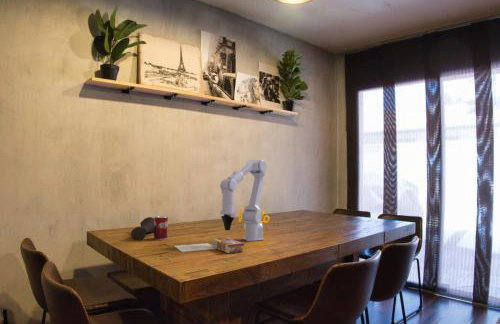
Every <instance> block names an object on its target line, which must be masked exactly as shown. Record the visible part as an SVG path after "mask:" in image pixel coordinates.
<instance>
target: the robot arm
mask: <svg viewBox="0 0 500 324" xmlns="http://www.w3.org/2000/svg"><path fill="white" fill-rule="evenodd" d="M267 166H268V165H267V163H266V160H264V159H249V160H248V161H246V163H245V165H244V166H243V167H242V168H241V169H239V171H238V170H236V171H233V173H232V174H231V175H230V176H228V177H227V178H226V179H225V178H224V179H222V181H221V182H220V184H219V187H220V189H221V194H222V201H221V202H222V205H221V210H220V211H219V213H220V215H221V216H220V218H221V220H222V222H223V226H224V230H225V231H230V230H231V227H232V223H233V221H234V219H235V218H236V215H237V214H236V213H235V211H234V207H235V206H234V201H235V195H234V194H235V191H236V190H237V187H238V185H239V184H240V183H241V182H242V181H243V180H244V177H245V176H247V174H249V173H250V174H251V175H252V176H253V177H254V179H253V184H252V189H251V193H250V199H249V201H248V202H249V203H248V204H247V206H245V207H244V210H243V212H242V213H241V214H242V215H241V217H242V221H243V222H244V224H245V226H244V237H241V239H242V240H244V241H248V242H252V241H264V226H263V224H262V223H261V221H262V218H263V217H262V216H263V215H262V212H263V210H262V209H261V208H260V200H261V195H262V190H263V186H264V181H265V176H266V172H267Z"/></svg>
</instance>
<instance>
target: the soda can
mask: <svg viewBox="0 0 500 324" xmlns="http://www.w3.org/2000/svg"><path fill="white" fill-rule="evenodd" d="M153 218H154V232H153V239H154V240H155V241H163V240H167V239H168V236H169V234H168V233H169V232H168V231H169V228H168V227H169V217H168V215H157V216H154V217H153Z"/></svg>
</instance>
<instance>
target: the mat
mask: <svg viewBox="0 0 500 324" xmlns="http://www.w3.org/2000/svg"><path fill="white" fill-rule="evenodd" d="M174 248H175V249H177V250H179V252H180V253H186V252H187V253H188V252H196V251H197V252H198V251H210V250H217V249H216V248H214V247H212V244H210V243H207V242H205V243H194V244H193V243H192V244H180V245H174Z"/></svg>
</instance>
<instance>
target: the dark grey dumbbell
mask: <svg viewBox="0 0 500 324" xmlns="http://www.w3.org/2000/svg"><path fill="white" fill-rule="evenodd" d="M139 224H140V226H136V227H134V228H133V229H131V233H130V234H131V235H130V236H131V238H132V239H133V240H135V241H143V240H144V239H145V237H146V236H147V233H154V217H153V216H152V217H151V216H148V217H145V218H144V219H142V220H141V222H140V223H139Z"/></svg>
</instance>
